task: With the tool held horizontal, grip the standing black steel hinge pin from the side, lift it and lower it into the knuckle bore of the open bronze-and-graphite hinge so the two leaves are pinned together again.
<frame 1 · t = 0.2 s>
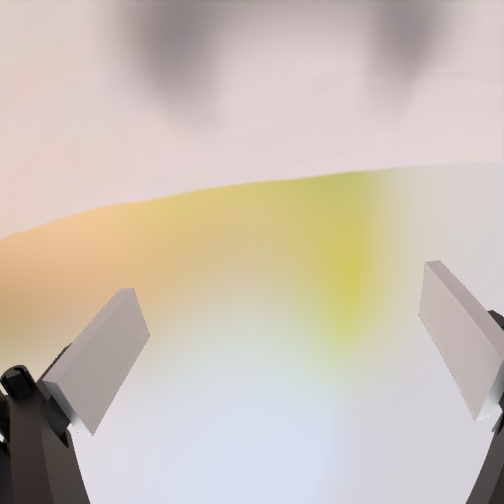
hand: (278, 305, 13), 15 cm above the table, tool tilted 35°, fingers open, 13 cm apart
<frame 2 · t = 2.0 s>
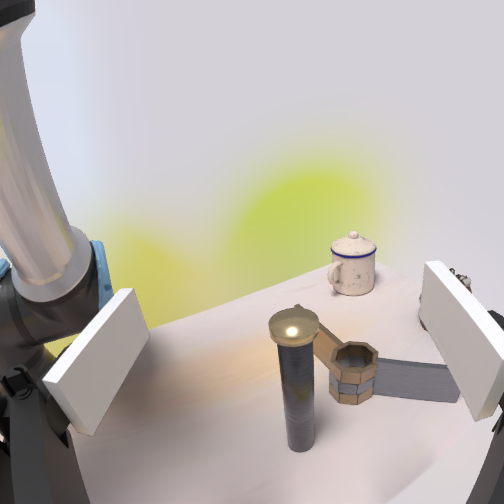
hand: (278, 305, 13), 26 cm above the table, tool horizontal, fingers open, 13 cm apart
hinge leaf b: (351, 388, 38), on the table
hinge leaf a: (351, 388, 38), on the table
hinge pin: (300, 442, 32), on the table
teacup with lid: (349, 289, 62), on the table
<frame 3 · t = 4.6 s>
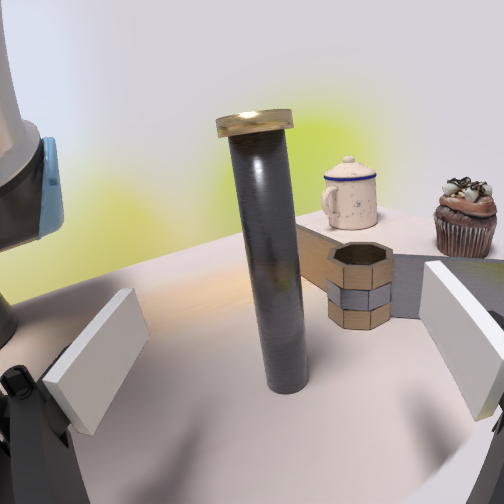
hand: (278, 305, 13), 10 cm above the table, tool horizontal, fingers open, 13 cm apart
hinge leaf b: (359, 311, 29), on the table
hinge leaf a: (359, 311, 29), on the table
cupcake: (463, 250, 37), on the table
hinge pin: (287, 379, 22), on the table
teacup with lid: (348, 225, 53), on the table
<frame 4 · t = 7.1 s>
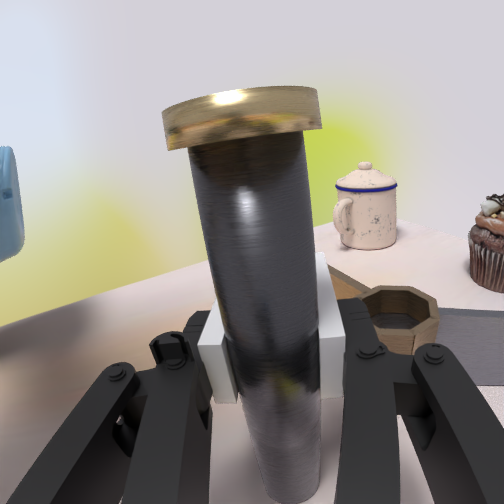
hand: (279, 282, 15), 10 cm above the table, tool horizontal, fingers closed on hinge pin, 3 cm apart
hinge leaf b: (386, 374, 21), on the table
hinge leaf a: (386, 374, 21), on the table
cupcake: (498, 279, 29), on the table
hinge pin: (292, 482, 14), on the table, touching gripper
teacup with lid: (363, 244, 45), on the table
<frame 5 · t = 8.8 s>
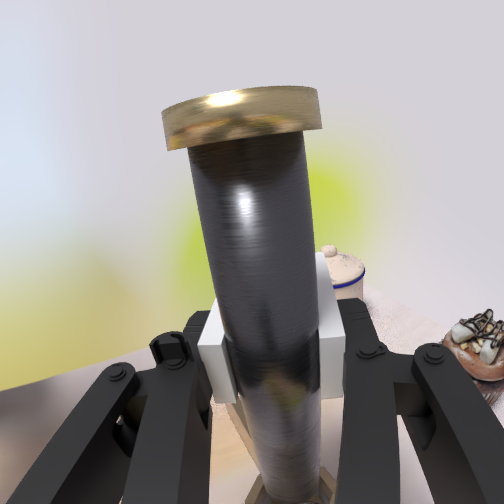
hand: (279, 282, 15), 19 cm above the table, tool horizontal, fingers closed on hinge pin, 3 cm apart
cupcake: (463, 393, 26), on the table
hinge pin: (292, 482, 14), point 9 cm above the table, touching gripper
teacup with lid: (324, 331, 42), on the table
when the fingers open (12 cm above the table, at t = 10.9 s): hinge pin drops 2 cm, resting in hinge leaf a.
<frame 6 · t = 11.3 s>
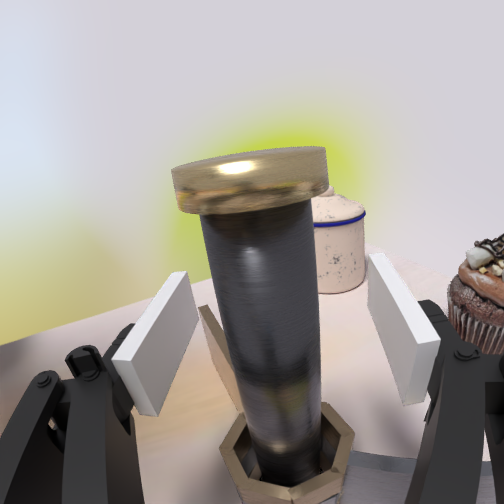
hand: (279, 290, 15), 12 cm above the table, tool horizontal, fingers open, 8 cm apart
hinge leaf b: (293, 492, 14), on the table
hinge leaf a: (293, 492, 14), on the table
cupcake: (483, 341, 23), on the table
hinge pin: (293, 492, 14), resting in hinge leaf a
teacup with lid: (323, 283, 39), on the table
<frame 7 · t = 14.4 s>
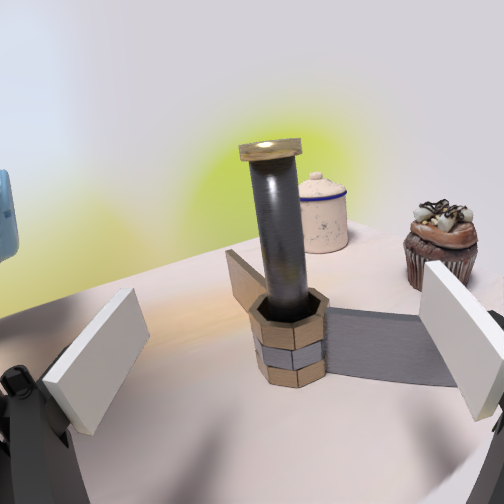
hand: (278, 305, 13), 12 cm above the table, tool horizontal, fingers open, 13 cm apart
hinge leaf b: (294, 363, 26), on the table
hinge leaf a: (294, 363, 26), on the table
cupcake: (437, 282, 34), on the table
hinge pin: (294, 363, 26), resting in hinge leaf a
teacup with lid: (315, 247, 50), on the table
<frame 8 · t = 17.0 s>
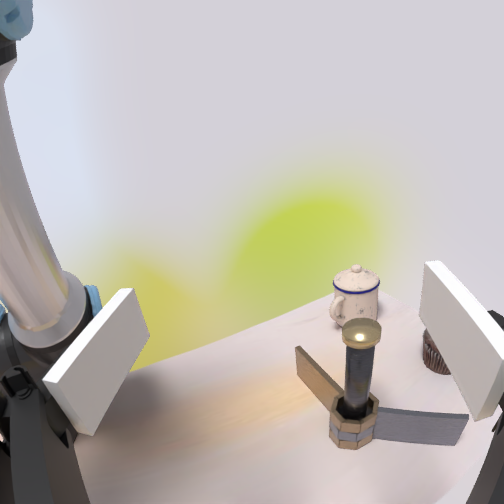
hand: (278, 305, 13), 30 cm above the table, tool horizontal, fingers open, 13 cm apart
hinge leaf b: (351, 432, 36), on the table
hinge leaf a: (351, 432, 36), on the table
cupcake: (443, 360, 44), on the table
hinge pin: (351, 432, 36), resting in hinge leaf a
teacup with lid: (351, 322, 60), on the table
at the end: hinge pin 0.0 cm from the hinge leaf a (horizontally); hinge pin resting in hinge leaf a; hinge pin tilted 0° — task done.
